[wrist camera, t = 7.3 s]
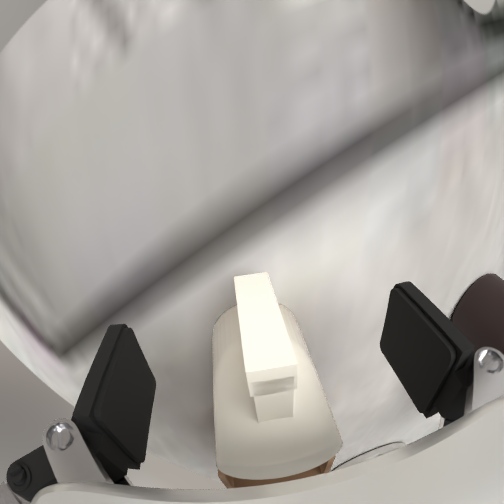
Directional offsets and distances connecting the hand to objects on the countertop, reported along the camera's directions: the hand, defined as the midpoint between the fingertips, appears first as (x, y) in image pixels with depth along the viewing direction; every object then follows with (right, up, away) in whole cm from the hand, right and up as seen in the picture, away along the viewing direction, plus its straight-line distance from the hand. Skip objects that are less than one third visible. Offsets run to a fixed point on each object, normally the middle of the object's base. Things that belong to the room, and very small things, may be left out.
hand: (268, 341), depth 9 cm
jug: (0, -1, +6) cm, 6 cm away
